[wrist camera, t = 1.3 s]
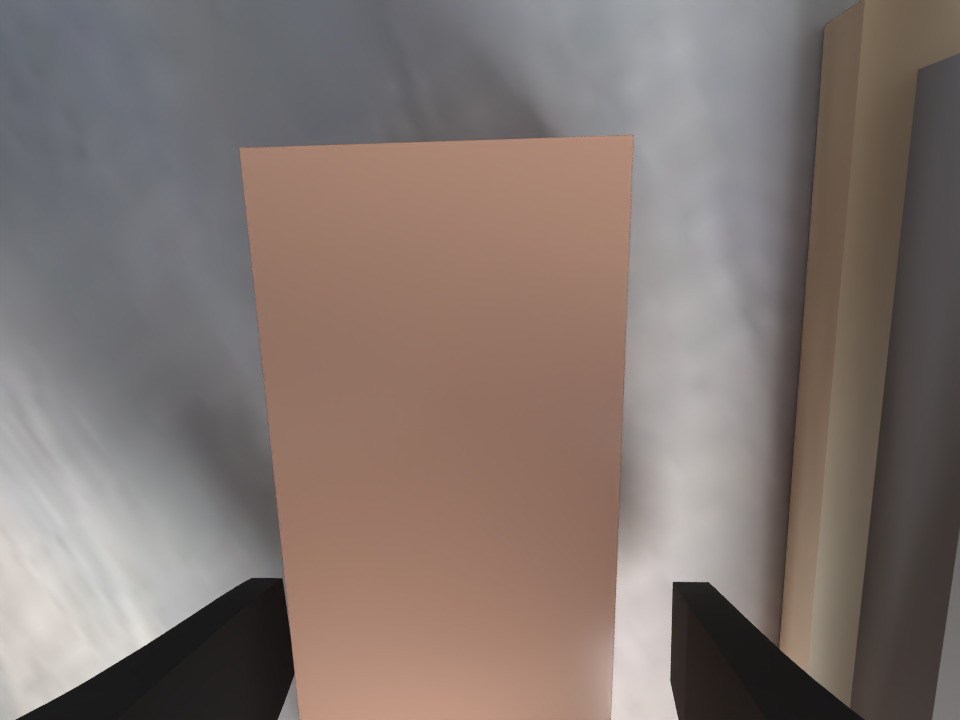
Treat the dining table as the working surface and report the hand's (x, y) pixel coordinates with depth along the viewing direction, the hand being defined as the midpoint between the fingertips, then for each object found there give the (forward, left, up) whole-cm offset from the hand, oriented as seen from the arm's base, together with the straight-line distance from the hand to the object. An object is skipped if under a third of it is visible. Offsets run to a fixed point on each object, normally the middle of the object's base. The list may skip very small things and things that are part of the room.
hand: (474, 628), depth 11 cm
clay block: (0, 0, -2) cm, 2 cm away
